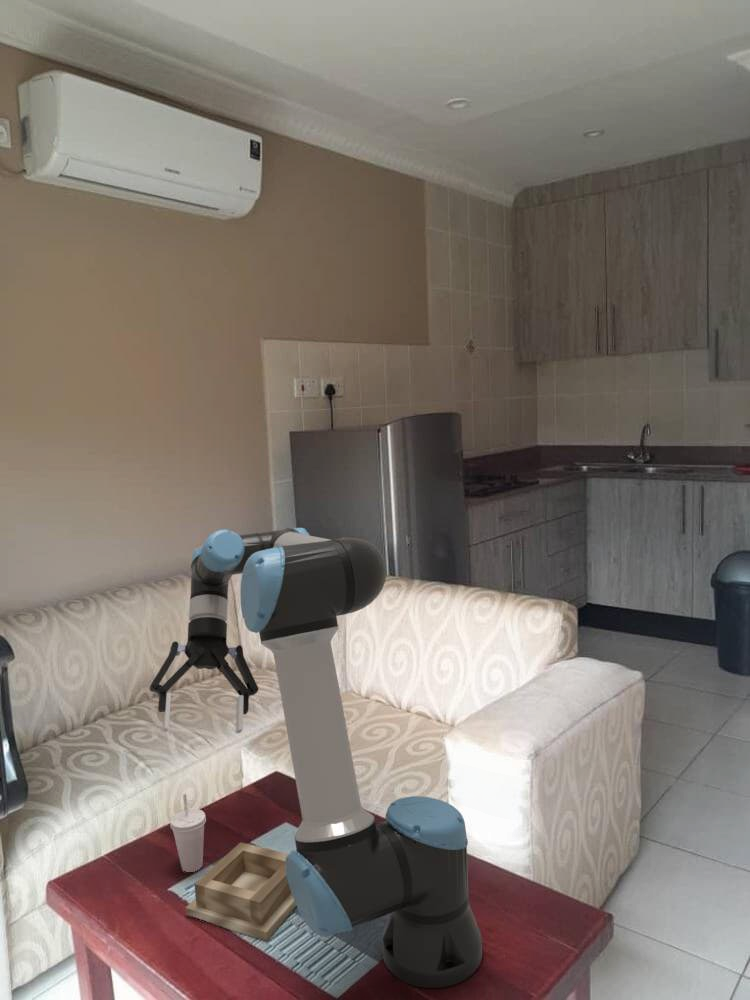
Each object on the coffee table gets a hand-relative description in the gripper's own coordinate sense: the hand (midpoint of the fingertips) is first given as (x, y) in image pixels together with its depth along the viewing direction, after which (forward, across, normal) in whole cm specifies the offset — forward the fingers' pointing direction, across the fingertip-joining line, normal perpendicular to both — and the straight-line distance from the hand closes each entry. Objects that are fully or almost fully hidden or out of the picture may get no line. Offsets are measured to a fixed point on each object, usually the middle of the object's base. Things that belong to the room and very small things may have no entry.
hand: (203, 730), depth 145 cm
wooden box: (+29, -9, +2) cm, 30 cm away
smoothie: (+22, -1, -11) cm, 25 cm away
